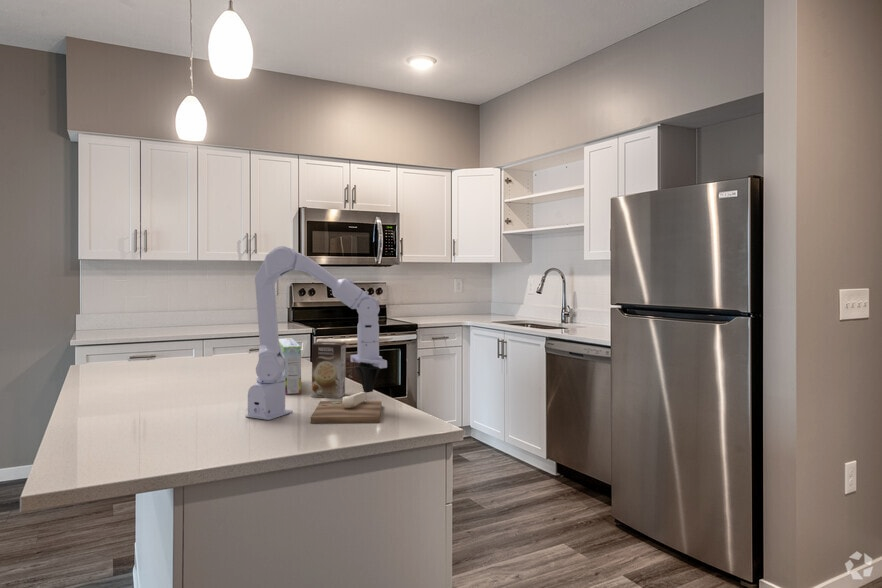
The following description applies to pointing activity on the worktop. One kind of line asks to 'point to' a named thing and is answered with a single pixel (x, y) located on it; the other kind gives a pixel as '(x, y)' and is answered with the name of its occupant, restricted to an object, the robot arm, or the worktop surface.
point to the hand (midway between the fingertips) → (368, 391)
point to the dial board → (347, 412)
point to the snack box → (291, 365)
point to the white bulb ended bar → (354, 399)
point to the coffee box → (328, 369)
